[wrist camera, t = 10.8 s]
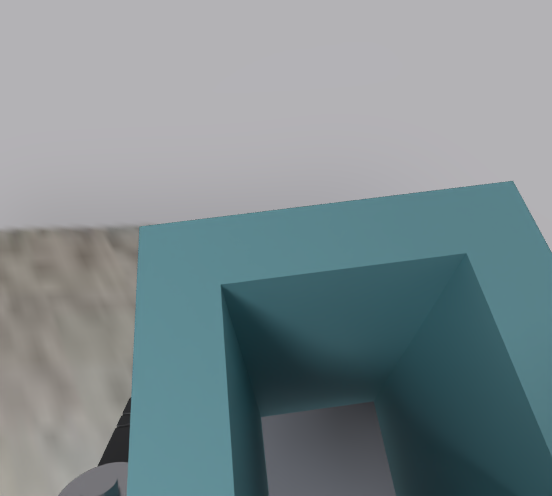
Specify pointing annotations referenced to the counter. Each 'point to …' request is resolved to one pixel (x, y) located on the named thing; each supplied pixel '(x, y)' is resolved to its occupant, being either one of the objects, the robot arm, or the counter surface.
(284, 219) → the teal sleeve
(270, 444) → the charcoal tray
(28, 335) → the counter surface
